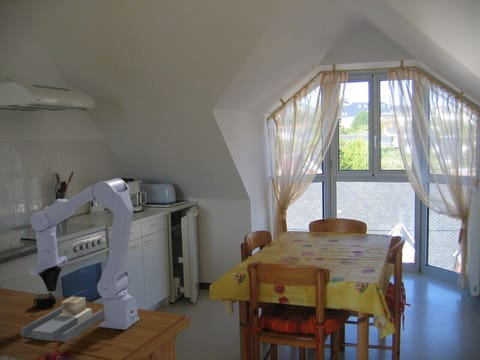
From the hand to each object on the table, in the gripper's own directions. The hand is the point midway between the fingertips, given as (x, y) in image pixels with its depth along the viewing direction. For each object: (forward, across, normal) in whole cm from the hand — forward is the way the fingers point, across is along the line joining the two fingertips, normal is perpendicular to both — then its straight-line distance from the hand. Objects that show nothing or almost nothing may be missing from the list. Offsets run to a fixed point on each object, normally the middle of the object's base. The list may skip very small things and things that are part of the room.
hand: (51, 291), depth 149 cm
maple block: (+7, -2, +7) cm, 10 cm away
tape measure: (+10, -10, -12) cm, 19 cm away
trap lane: (+9, +4, +7) cm, 12 cm away
